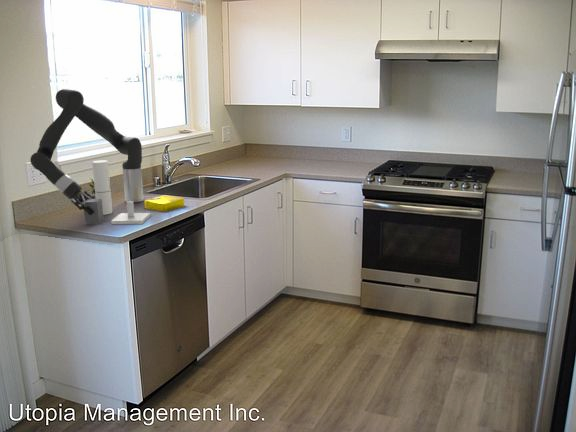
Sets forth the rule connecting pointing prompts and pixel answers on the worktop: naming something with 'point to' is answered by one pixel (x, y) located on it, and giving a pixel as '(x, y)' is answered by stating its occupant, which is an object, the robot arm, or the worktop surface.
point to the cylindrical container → (102, 184)
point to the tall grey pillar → (98, 211)
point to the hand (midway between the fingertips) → (95, 211)
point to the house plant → (92, 188)
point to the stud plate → (131, 220)
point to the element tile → (164, 203)
